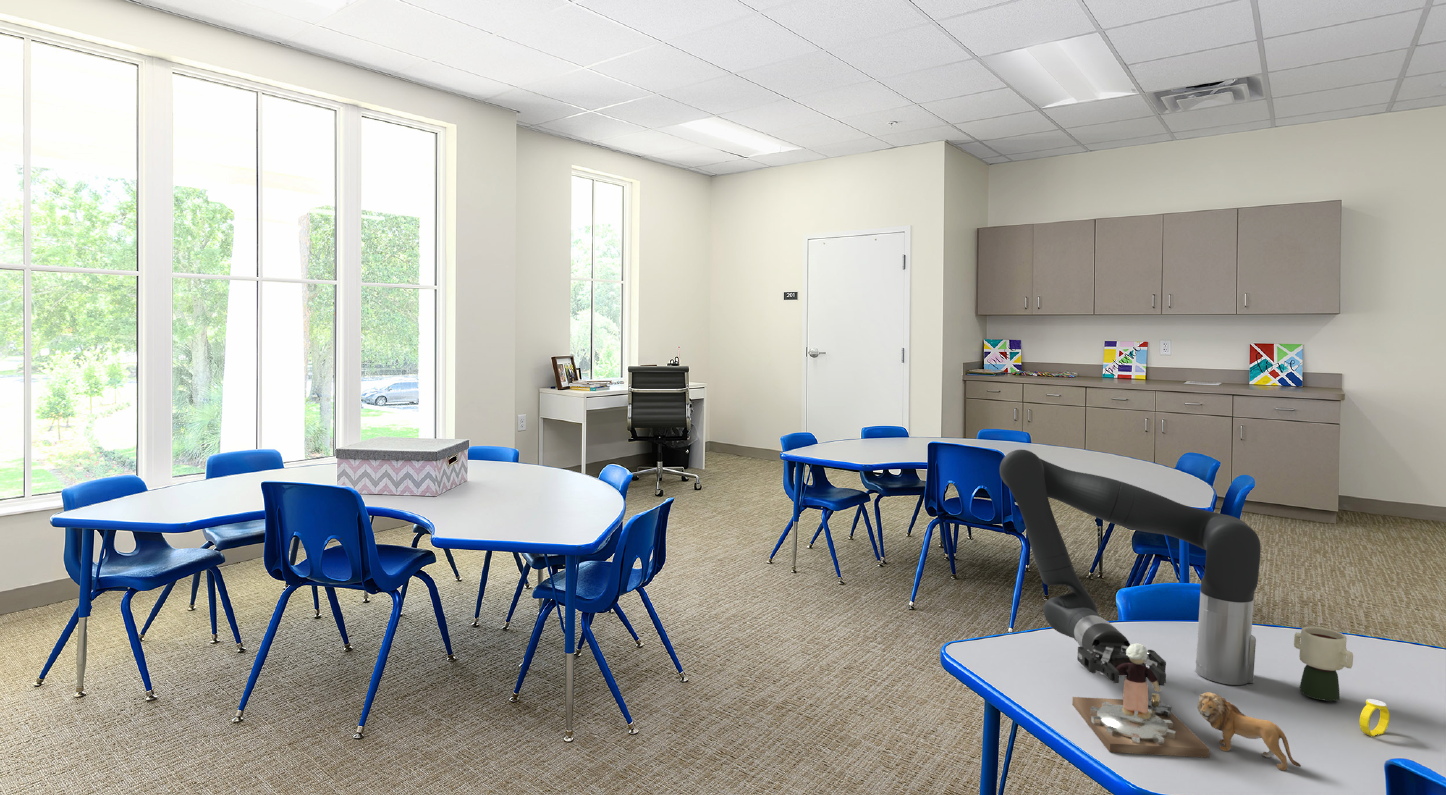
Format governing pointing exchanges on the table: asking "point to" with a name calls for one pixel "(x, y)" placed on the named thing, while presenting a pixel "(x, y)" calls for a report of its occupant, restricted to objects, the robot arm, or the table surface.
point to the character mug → (1322, 661)
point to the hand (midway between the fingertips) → (1139, 679)
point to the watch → (1367, 714)
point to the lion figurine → (1243, 727)
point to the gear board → (1180, 746)
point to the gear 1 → (1132, 724)
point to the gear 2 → (1159, 706)
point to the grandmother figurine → (1136, 682)
